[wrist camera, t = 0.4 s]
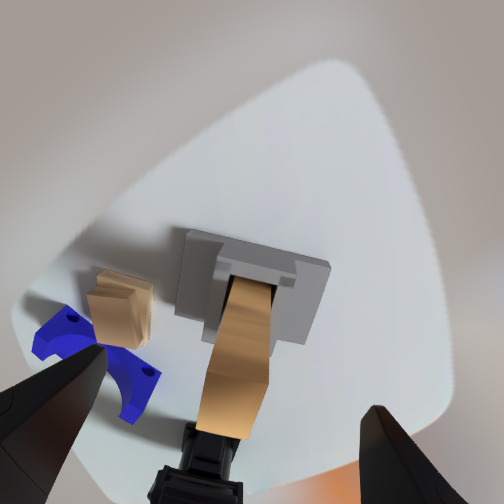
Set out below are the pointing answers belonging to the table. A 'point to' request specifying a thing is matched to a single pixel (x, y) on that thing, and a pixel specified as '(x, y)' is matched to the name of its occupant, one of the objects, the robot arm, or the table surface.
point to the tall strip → (238, 362)
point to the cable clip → (119, 359)
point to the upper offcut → (115, 316)
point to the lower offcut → (142, 292)
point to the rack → (253, 267)
